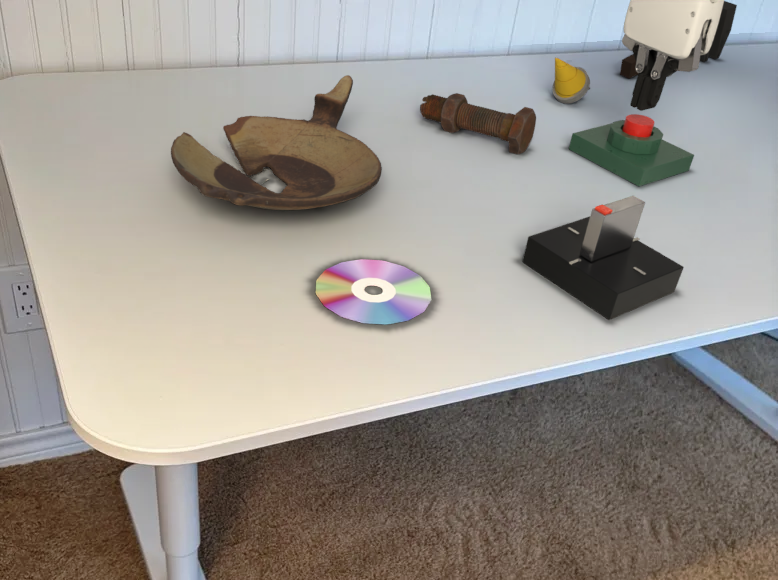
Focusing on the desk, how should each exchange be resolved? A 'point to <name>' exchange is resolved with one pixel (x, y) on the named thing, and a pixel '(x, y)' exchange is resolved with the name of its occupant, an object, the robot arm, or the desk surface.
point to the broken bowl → (285, 159)
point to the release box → (631, 153)
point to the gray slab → (611, 228)
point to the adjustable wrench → (714, 52)
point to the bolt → (481, 120)
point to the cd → (395, 304)
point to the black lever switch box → (602, 270)
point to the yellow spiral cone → (569, 82)
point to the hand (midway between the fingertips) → (642, 106)
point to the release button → (638, 125)
